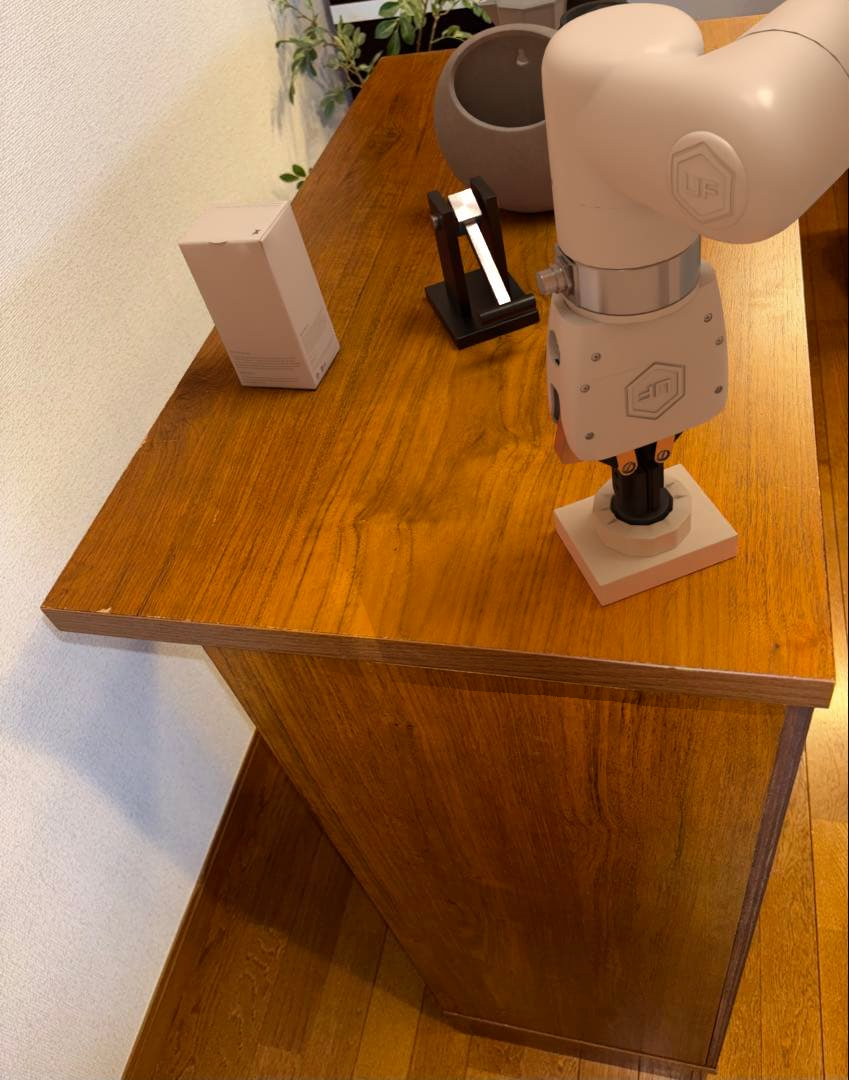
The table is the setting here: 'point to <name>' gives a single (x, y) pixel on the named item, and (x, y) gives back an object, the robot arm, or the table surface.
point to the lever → (485, 260)
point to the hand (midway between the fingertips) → (638, 498)
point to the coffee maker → (528, 13)
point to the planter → (498, 115)
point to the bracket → (471, 273)
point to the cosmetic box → (262, 293)
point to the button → (649, 518)
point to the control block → (644, 539)
